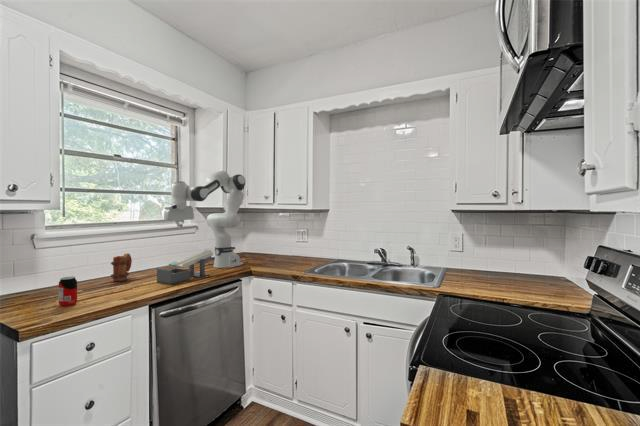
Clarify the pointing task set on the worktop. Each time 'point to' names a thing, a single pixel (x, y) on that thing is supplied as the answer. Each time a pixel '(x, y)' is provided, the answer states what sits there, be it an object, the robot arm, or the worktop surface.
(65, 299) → the beverage can
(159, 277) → the grey open box
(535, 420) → the worktop surface
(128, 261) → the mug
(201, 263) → the stand
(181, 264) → the lever
